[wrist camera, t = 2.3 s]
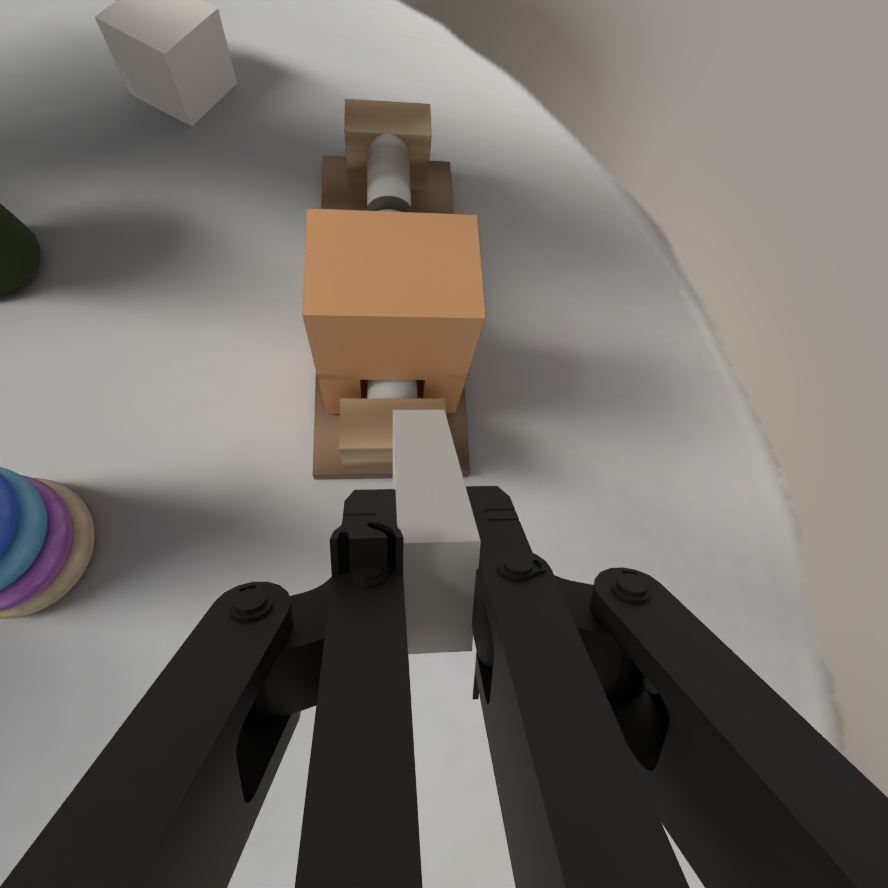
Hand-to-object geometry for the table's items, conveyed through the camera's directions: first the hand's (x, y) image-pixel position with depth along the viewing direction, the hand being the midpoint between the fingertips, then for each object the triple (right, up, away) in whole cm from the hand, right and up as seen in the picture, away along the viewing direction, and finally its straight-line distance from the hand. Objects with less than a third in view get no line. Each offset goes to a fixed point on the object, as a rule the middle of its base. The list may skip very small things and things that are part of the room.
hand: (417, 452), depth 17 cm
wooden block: (-3, +5, +21) cm, 22 cm away
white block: (-21, +29, +29) cm, 46 cm away
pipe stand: (-3, +10, +24) cm, 27 cm away
